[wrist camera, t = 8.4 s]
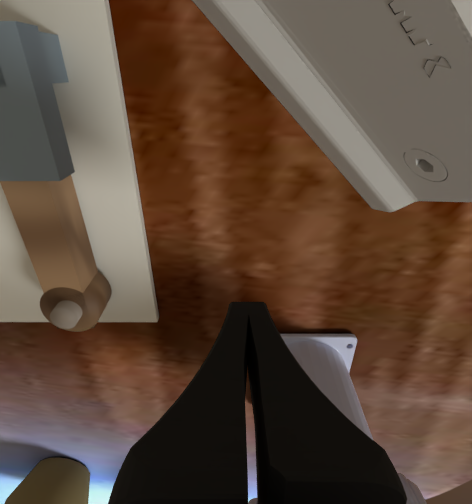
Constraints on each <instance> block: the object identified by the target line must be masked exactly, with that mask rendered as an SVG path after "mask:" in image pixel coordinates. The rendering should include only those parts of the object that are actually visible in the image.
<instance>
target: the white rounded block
mask: <svg viewBox="0 0 472 504" xmlns="http://www.w3.org/2000/svg"><path fill="white" fill-rule="evenodd" d="M192 1H193V2H194V3H195V4H196V5H197V7H198V8H199V9H200V10H201V11H202V12H203V13H204V15H205V16H206V17H207V18H208V19H209V20H210V22H211V23H212V24H213V25H214V26H215V27H216V29H217V30H218V31H219V32H220V33H221V34H222V35H223V37H224V38H225V39H226V40H227V41H228V42H229V44H230V45H231V46H232V47H233V48H234V49H235V50H236V52H237V53H238V54H239V55H240V56H241V57H242V59H243V60H244V61H245V62H246V63H247V64H248V66H249V67H250V68H251V69H252V70H253V71H254V72H255V74H256V75H257V76H258V77H259V78H260V79H261V81H262V82H263V83H264V84H265V85H266V86H267V88H268V89H269V90H270V91H271V92H272V93H273V94H274V96H275V97H276V98H277V99H278V100H279V101H280V103H281V104H282V105H283V106H284V107H285V108H286V109H287V111H288V112H289V113H290V114H291V115H292V116H293V118H294V119H295V120H296V121H297V122H298V123H299V125H300V126H301V127H302V128H303V129H304V130H305V131H306V133H307V134H308V135H309V136H310V137H311V138H312V140H313V141H314V142H315V143H316V144H317V145H318V146H319V148H320V149H321V150H322V151H323V152H324V153H325V155H326V156H327V157H328V158H329V159H330V160H331V162H332V163H333V164H334V165H335V166H336V167H337V168H338V170H339V171H340V172H341V173H342V174H343V175H344V177H345V178H346V179H347V180H348V181H349V182H350V184H351V185H352V186H353V187H354V188H355V189H356V190H357V192H358V193H359V194H360V195H361V196H362V197H363V199H364V200H365V201H366V202H367V203H368V204H369V205H370V207H371V208H372V209H376V210H381V211H386V212H393V211H396V210H398V209H400V208H402V207H404V206H407V205H409V204H411V203H413V202H416V201H447V202H472V0H192Z"/></svg>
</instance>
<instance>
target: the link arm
mask: <svg viewBox="0 0 472 504" xmlns="http://www.w3.org/2000/svg"><path fill="white" fill-rule="evenodd" d="M0 184H1V186H2V189H3V191H4V194H5V196H6V199H7V201H8V204H9V206H10V209H11V212H12V214H13V217H14V219H15V222H16V224H17V227H18V229H19V232H20V234H21V237H22V239H23V242H24V244H25V247H26V250H27V252H28V255H29V257H30V260H31V262H32V265H33V267H34V270H35V272H36V275H37V277H38V280H39V283H40V285H41V288H42V290H43V293H44V294H43V295H42V297H41V299H40V309H41V311H42V313H43V315H44V316H45V318H46V319H47V320H48V321H49V322H51V323H52V324H53V325H55V326H57V328H61V329H64V330H67V331H73V332H80V331H85V330H88V329H90V328H94V327H95V326H96V324H97V322H98V320H99V318H100V317H101V315H102V313H103V311H104V309H105V308H106V306H107V303H108V301H109V299H110V298H111V294H112V290H111V286H110V284H109V282H108V280H107V279H106V278H105V277H104V276H103V275H102V274H101V273H100V272H98V270H97V266H96V262H95V259H94V255H93V252H92V248H91V244H90V241H89V237H88V234H87V230H86V226H85V223H84V219H83V216H82V212H81V208H80V205H79V201H78V198H77V194H76V190H75V187H74V183H73V180H72V176H71V175H69V176H68V177H66V178H64V179H63V180H61V181H0Z"/></svg>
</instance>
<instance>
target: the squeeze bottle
mask: <svg viewBox="0 0 472 504" xmlns="http://www.w3.org/2000/svg"><path fill="white" fill-rule="evenodd" d="M89 482H90V472H89V471H88V469H87V468H86V467H85V466H83V465H82V464H81V463H79V462H76V461H73V460H71V459H66V458H59V457H57V458H47V459H44V460H41V461H40V462H39V463H38V464H37V465H36V466H35V467H34V469H33V470H32V471H31V472H30V473H29V474H28V475H27V476H26V478H25V479H24V480H23V481H22V482H21V483H20V484H19V486H18V487H17V488H16V489H15V490H14V491H13V492H12V493H11V495H10V496H9V497H8V498H7V499H6V501H5V504H88V496H89Z"/></svg>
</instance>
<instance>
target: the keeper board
mask: <svg viewBox="0 0 472 504" xmlns="http://www.w3.org/2000/svg"><path fill="white" fill-rule="evenodd" d="M69 175H71V176H72V180H73V183H74V187H75V190H76V194H77V198H78V201H79V205H80V208H81V212H82V216H83V219H84V223H85V226H86V230H87V234H88V237H89V241H90V244H91V248H92V252H93V255H94V259H95V262H96V266H97V270H98V272H100V273H101V274H102V275H103V276H104V277H105V278H106V279H107V280H108V282H109V284H110V286H111V290H112V294H111V298H110V299H109V301H108V303H107V306H106V308H105V309H104V311H103V313H102V315H101V317H100V318H99V320H98V322H158V319H159V312H158V306H157V300H156V294H155V287H154V281H153V275H152V269H151V262H150V256H149V250H148V244H147V238H146V231H145V225H144V219H143V213H142V206H141V200H140V194H139V188H138V181H137V175H136V169H135V163H134V156H133V150H132V144H131V138H130V132H129V125H128V119H127V113H126V107H125V100H124V94H123V88H122V82H121V75H120V69H119V63H118V57H117V51H116V44H115V38H114V32H113V26H112V19H111V13H110V7H109V1H108V0H0V181H61V180H63V179H64V178H66V177H68V176H69ZM43 294H44V293H43V290H42V288H41V285H40V283H39V280H38V277H37V275H36V272H35V270H34V267H33V265H32V262H31V260H30V257H29V255H28V252H27V250H26V247H25V244H24V242H23V239H22V237H21V234H20V232H19V229H18V227H17V224H16V222H15V219H14V217H13V214H12V212H11V209H10V206H9V204H8V201H7V199H6V196H5V194H4V191H3V189H2V186H1V184H0V322H49V321H48V320H47V319H46V318H45V316H44V315H43V313H42V311H41V309H40V299H41V297H42V295H43Z"/></svg>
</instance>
